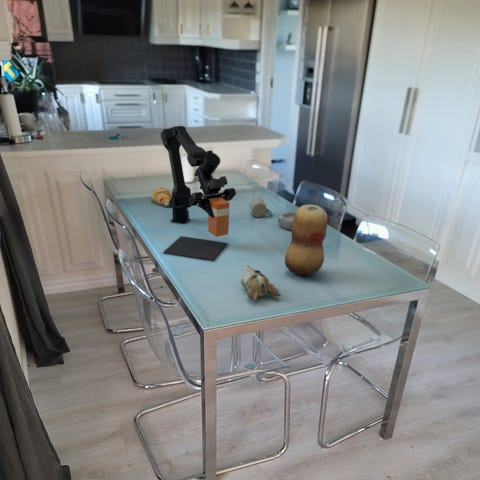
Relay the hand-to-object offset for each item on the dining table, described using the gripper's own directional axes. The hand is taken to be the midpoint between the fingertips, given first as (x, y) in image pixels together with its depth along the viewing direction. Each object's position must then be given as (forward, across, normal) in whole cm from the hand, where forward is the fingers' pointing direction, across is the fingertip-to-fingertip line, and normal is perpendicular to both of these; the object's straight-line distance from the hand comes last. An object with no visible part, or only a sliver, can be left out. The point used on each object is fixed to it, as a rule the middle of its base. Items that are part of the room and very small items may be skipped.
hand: (219, 216), depth 182 cm
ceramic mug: (-9, +38, +28) cm, 48 cm away
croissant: (-36, +4, +55) cm, 66 cm away
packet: (+4, 0, +6) cm, 7 cm away
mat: (+7, -9, +11) cm, 16 cm away
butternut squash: (+34, +15, -15) cm, 40 cm away
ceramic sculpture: (+38, -9, -19) cm, 43 cm away
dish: (+4, +43, +14) cm, 46 cm away
